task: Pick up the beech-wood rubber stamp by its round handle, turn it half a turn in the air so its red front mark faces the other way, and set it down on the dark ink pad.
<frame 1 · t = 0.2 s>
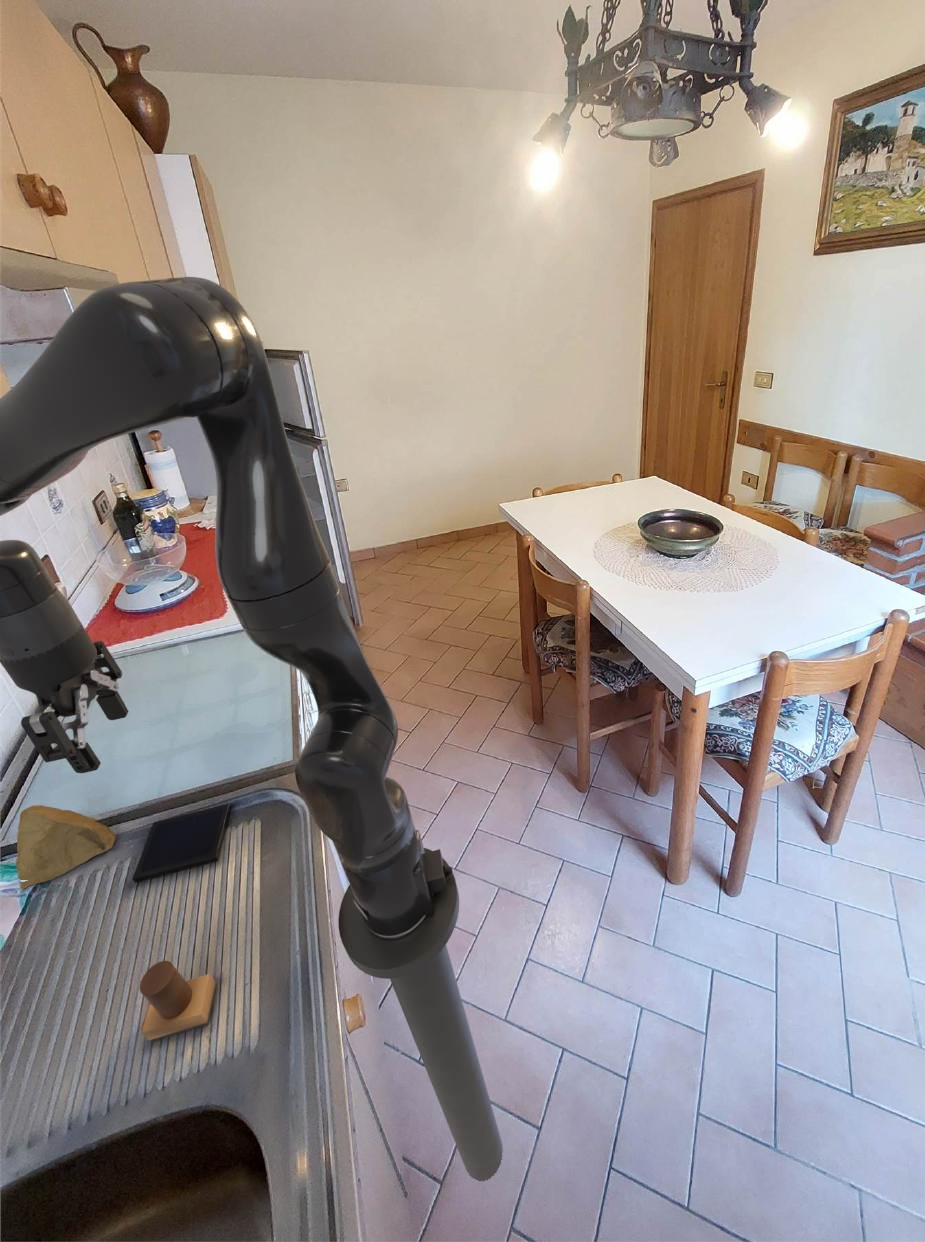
hand: (105, 741, 67), 24 cm above the worktop, tool pointing down, fingers open, 8 cm apart
rock: (73, 861, 80), on the worktop
stamp: (185, 1012, 62), on the worktop
ink pad: (186, 843, 81), on the worktop
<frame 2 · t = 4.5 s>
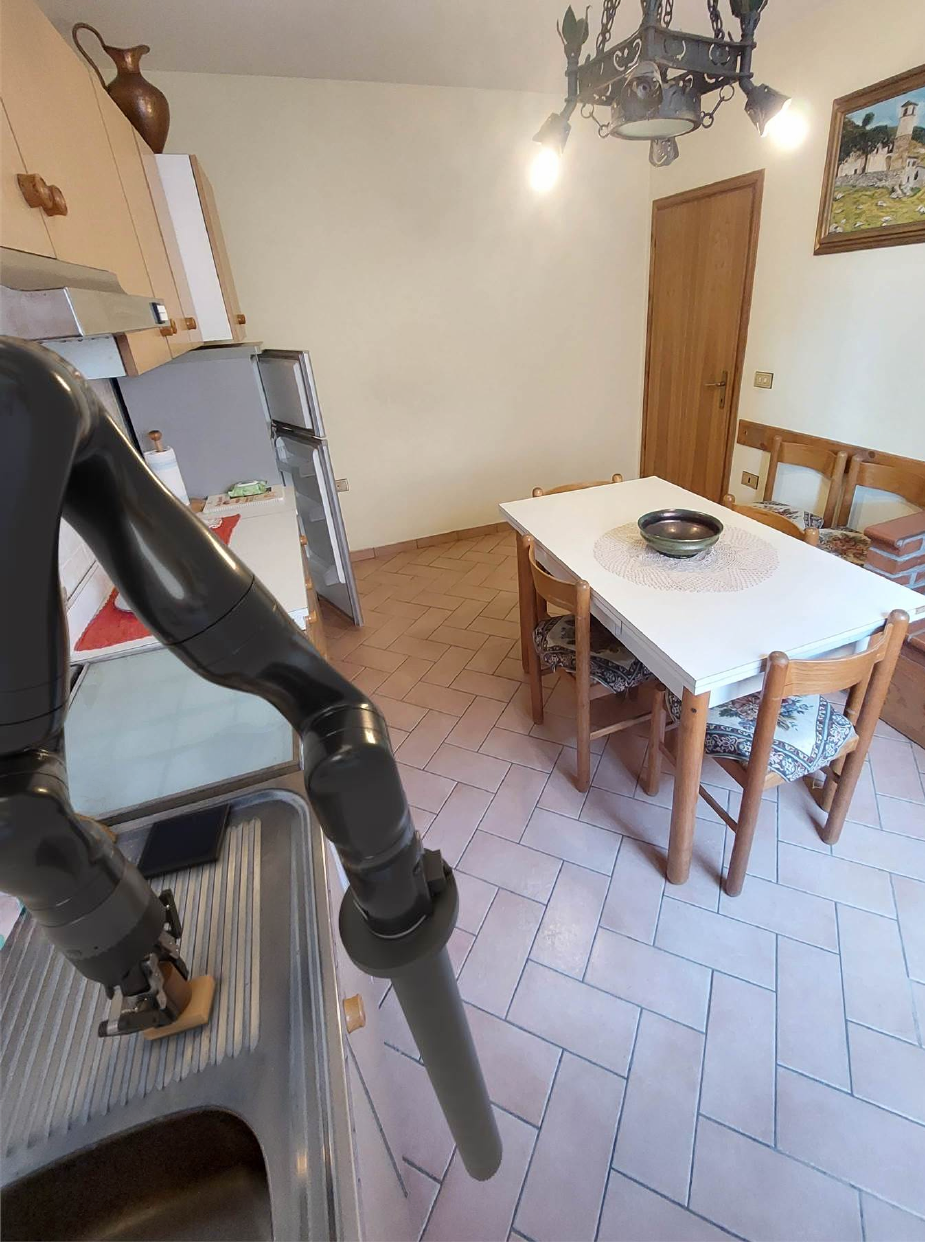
hand: (174, 999, 61), 3 cm above the worktop, tool pointing down, fingers closed on stamp, 3 cm apart
stamp: (185, 1012, 62), on the worktop, touching gripper
everything else where it was.
when the fingers open (4 cm above the worktop, at t = 15.0 s): stamp stays where it is, resting on ink pad.
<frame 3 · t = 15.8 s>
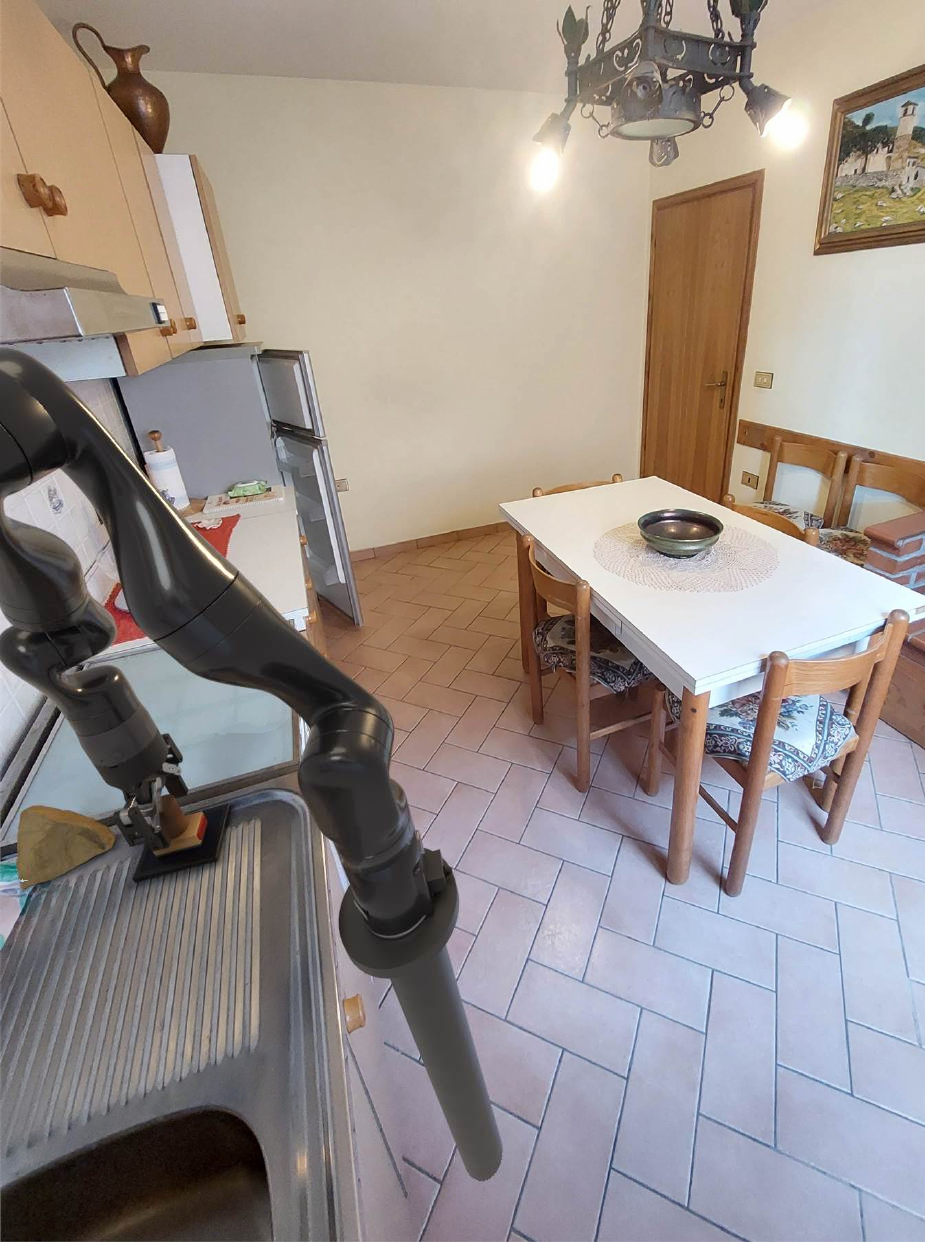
hand: (172, 820, 78), 5 cm above the worktop, tool pointing down, fingers open, 8 cm apart
stamp: (183, 839, 80), point 1 cm above the worktop, touching ink pad
everything else where it was.
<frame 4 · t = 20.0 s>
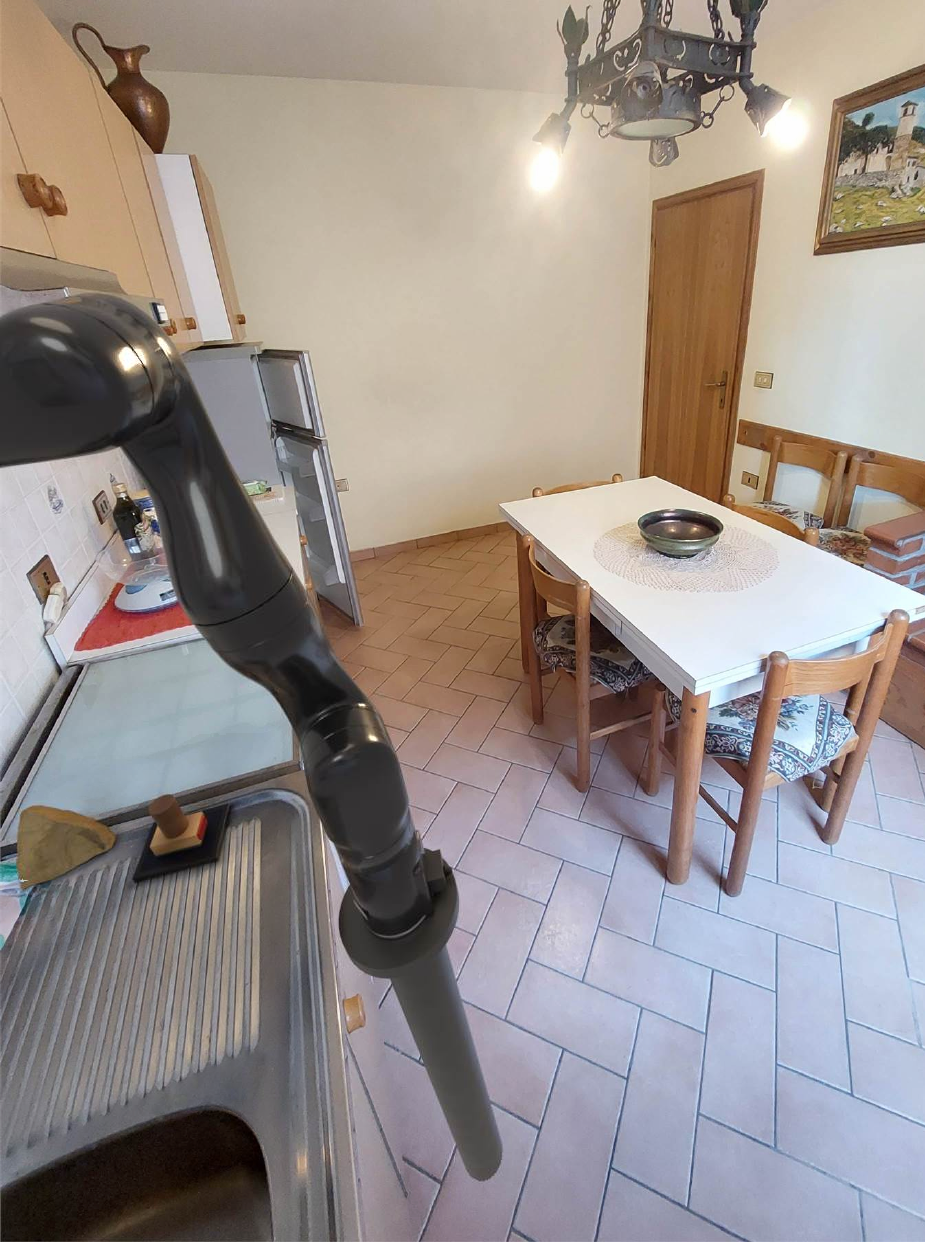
nothing on the worktop moved.
at the end: stamp 0.1 cm off-centre on the ink pad, point 1.0 cm above the ink pad's base; stamp tilted 0°; the gripper is holding nothing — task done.
